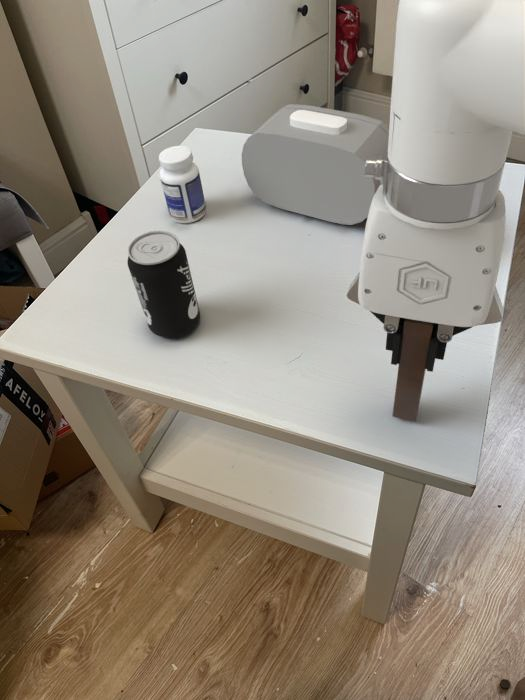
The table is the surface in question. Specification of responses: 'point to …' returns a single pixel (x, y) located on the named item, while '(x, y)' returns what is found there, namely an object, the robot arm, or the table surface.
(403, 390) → the stick
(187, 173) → the pill bottle
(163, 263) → the beverage can
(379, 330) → the table surface
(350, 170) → the alarm clock
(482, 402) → the table surface
